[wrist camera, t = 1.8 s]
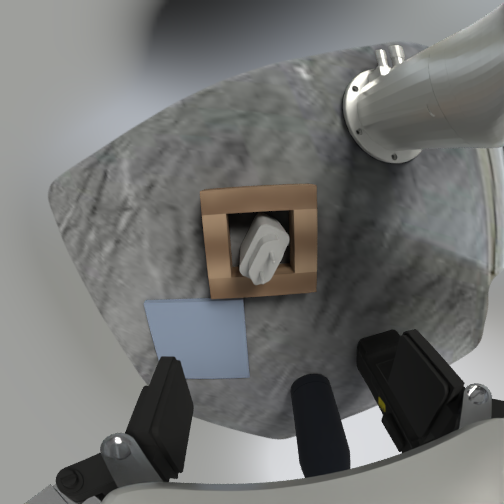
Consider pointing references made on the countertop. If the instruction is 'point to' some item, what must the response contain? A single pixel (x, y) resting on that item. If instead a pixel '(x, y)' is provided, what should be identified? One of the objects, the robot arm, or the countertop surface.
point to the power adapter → (262, 249)
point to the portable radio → (386, 387)
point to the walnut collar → (256, 200)
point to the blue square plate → (201, 335)
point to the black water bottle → (318, 427)
